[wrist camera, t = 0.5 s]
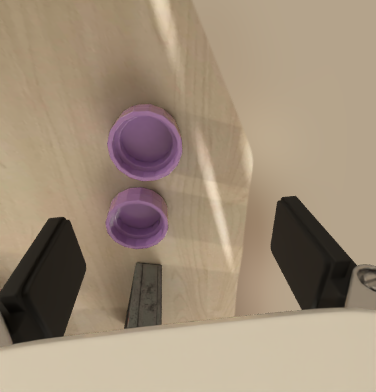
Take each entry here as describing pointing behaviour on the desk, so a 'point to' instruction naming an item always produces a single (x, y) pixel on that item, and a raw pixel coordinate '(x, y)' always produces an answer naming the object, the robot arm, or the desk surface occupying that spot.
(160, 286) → the camera
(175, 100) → the desk surface
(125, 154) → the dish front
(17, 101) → the desk surface
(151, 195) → the dish
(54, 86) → the desk surface
